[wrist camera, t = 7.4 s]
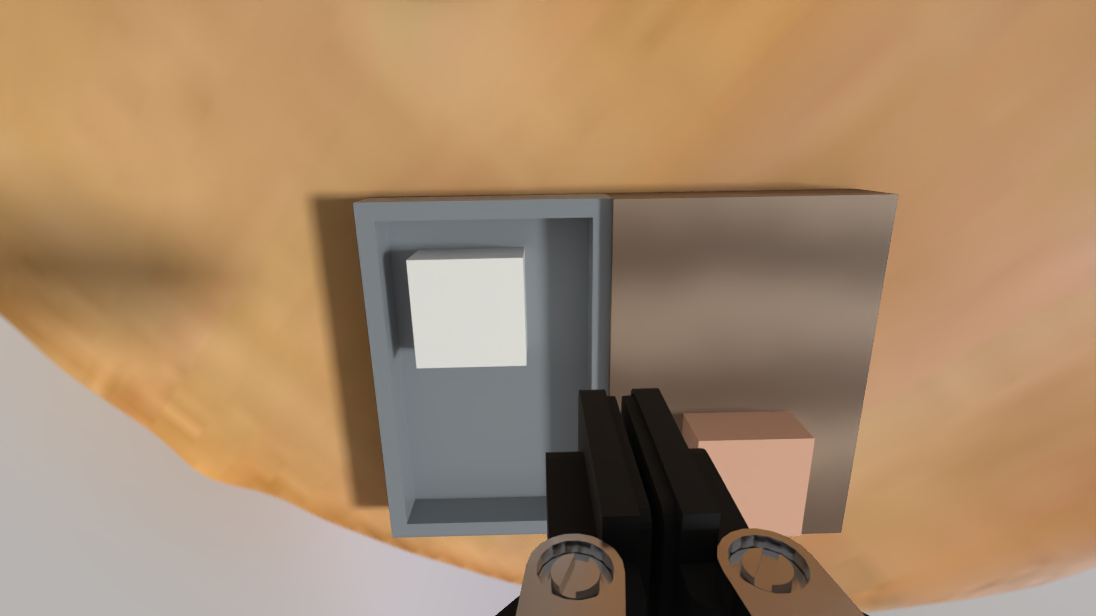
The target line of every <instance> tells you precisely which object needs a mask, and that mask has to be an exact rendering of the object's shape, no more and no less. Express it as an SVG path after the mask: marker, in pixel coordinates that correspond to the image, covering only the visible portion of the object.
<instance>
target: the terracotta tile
mask: <svg viewBox="0 0 1096 616" xmlns="http://www.w3.org/2000/svg"><path fill="white" fill-rule="evenodd" d="M682 436H683V438H684V440H685V442H686V444H687V446H688V448H703V449H705V450H706V451H707V453H708V454H709V456H710V458H711V460H712V462H713V463H714V465H715V467H716V469H717V471H718V473H719V474H720V476H721V478H722V480H723V482H724V483H725V485H726V487H727V489H728V491H729V493H730V494H731V496H732V498H733V500H734V502H735V503H736V505H737V507H738V509H739V511H740V513H741V514H742V516H743V518H744V520H745V522H746V524H747V525H748V527H749V528H758V529H763V530H769V531H773V532H776V533H778V534H781V535H784V536H801V532H802V525H803V518H804V511H805V504H806V497H807V490H808V483H809V476H810V469H811V462H812V455H813V448H814V442H815V438H814V437H813V436H812V435H811V434H810V433H809V432H808V431H807V430H806V428H805V427H804V426H803V425H802V424H801V423H800V422H799V421H798V420H797V419H796V418H795V417H794V416H793V415H792V414H791V413H790V412H789V411H761V412H718V413H683V428H682Z"/></svg>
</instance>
